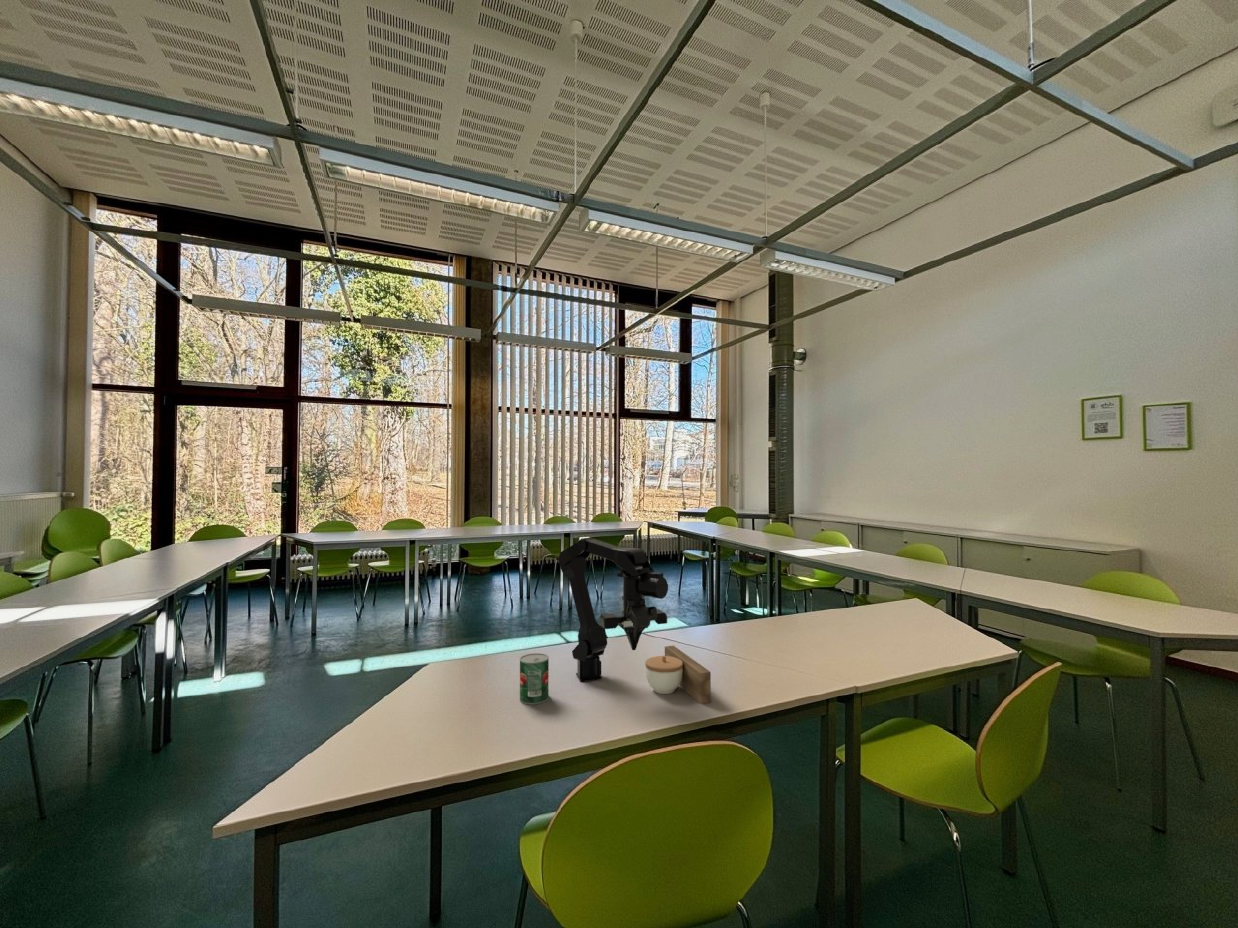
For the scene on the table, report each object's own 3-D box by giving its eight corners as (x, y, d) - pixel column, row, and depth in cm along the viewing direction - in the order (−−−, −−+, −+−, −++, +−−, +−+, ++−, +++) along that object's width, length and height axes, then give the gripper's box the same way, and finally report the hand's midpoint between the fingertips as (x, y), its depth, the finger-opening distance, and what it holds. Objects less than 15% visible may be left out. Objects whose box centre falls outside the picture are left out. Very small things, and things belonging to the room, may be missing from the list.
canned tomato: (514, 697, 138) (514, 656, 139) (540, 690, 143) (540, 651, 143) (527, 707, 132) (527, 664, 132) (554, 699, 137) (554, 658, 137)
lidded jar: (637, 689, 143) (637, 656, 143) (662, 679, 150) (661, 647, 151) (666, 700, 135) (666, 665, 136) (690, 689, 143) (690, 655, 143)
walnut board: (700, 703, 133) (700, 673, 134) (664, 672, 156) (664, 646, 156) (710, 702, 134) (710, 671, 134) (673, 671, 157) (673, 645, 157)
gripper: (609, 602, 132) (610, 662, 131) (675, 597, 137) (675, 655, 136) (598, 593, 142) (598, 649, 141) (659, 589, 148) (660, 643, 147)
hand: (633, 649), depth 141 cm, fingers closed
